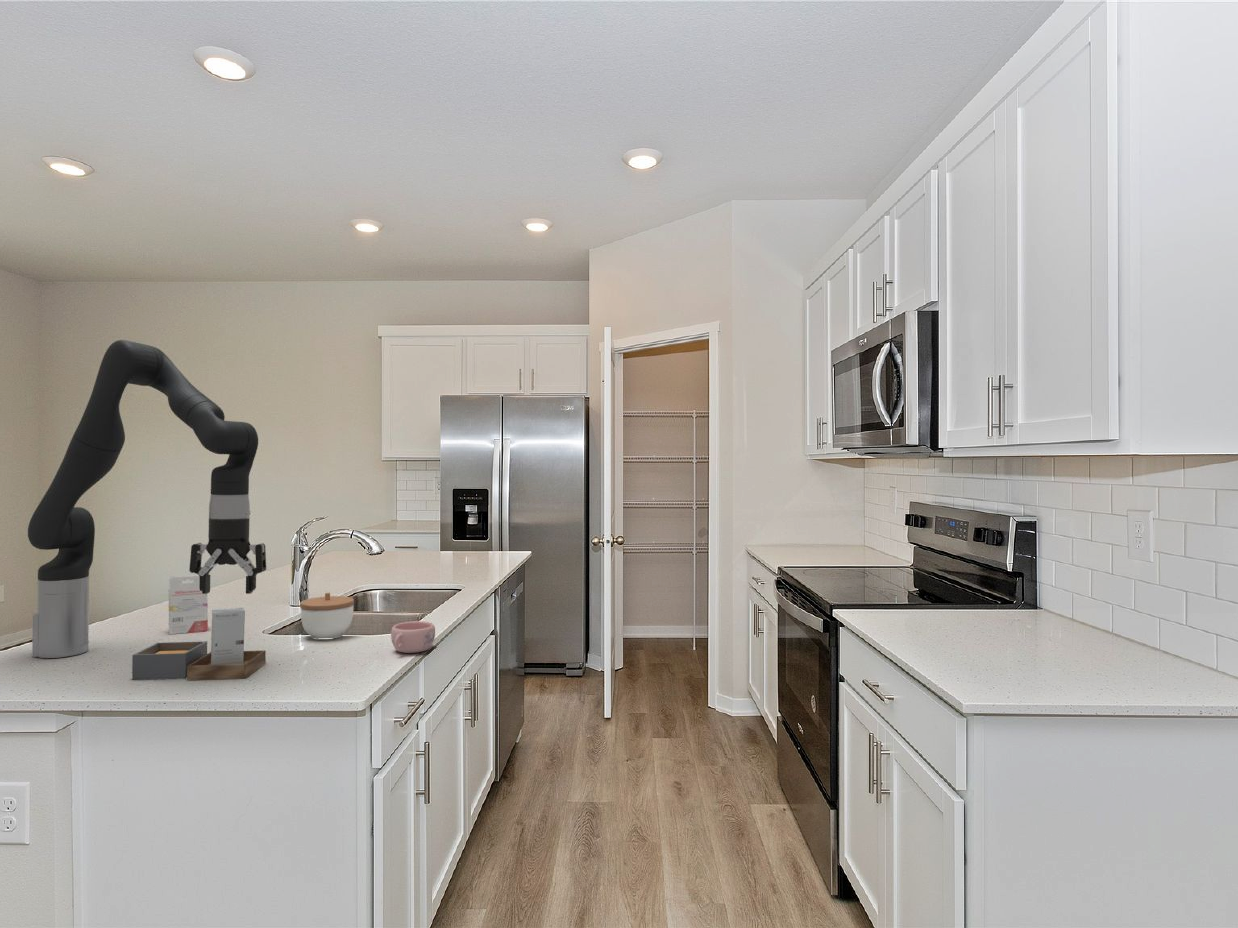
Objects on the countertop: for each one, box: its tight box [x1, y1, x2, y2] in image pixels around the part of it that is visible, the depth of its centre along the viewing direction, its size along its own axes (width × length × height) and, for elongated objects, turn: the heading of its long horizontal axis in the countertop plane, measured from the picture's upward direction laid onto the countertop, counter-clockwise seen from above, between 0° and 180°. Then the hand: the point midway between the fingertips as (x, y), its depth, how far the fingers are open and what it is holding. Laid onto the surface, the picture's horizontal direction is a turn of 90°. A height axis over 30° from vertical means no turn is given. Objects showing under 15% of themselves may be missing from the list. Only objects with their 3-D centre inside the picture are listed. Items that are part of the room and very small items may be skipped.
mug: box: [390, 620, 436, 654], centre depth 166 cm, size 12×10×6 cm
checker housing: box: [131, 640, 208, 681], centre depth 148 cm, size 10×10×5 cm
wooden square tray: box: [186, 649, 267, 681], centre depth 149 cm, size 11×11×3 cm
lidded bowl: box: [299, 592, 355, 641], centre depth 179 cm, size 13×13×11 cm
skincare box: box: [210, 607, 246, 665], centre depth 149 cm, size 6×4×12 cm
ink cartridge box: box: [168, 574, 209, 635], centre depth 184 cm, size 9×5×15 cm, turn 118°
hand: (227, 593), depth 149 cm, fingers open, 8 cm apart
